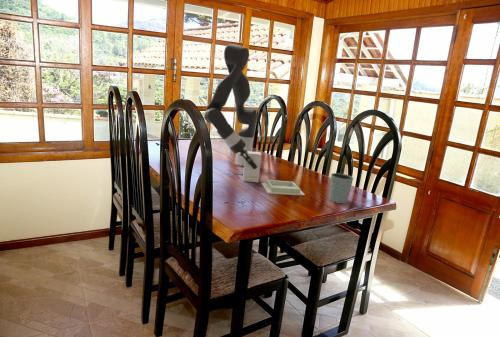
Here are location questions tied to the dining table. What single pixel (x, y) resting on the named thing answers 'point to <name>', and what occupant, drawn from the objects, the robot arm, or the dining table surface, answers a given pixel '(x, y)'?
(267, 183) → the tray
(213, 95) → the robot arm
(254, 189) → the dining table surface
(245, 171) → the skincare box
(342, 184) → the grey plant pot
